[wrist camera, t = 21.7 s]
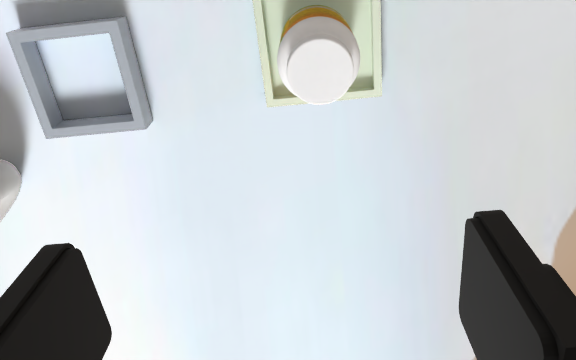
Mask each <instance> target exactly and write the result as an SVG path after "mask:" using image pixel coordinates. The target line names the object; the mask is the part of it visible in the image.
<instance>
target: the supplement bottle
mask: <svg viewBox="0 0 576 360" xmlns="http://www.w3.org/2000/svg"><path fill="white" fill-rule="evenodd" d="M277 66H278V72H279V75H280V77H281V80H282V82H283V83H284V85H285V86H286V87H287V88H288V90H289V91H290V92H292V93H293V94H294V95H296V96H297V97H299V98H300V99H302V100H303V101H305V102H307V103H310V104H315V105H323V104H328V103H332V102H334V101H336V100H338V99H339V98H341V97H342V96H343V95H344V94H345V93H346V92H347V90H348V89H349V87H350V86H351V85H352V84H353V82H354V80H355V79H356V76H357V74H358V71H359V67H360V50H359V46H358V43H357V41H356V38H355V36H354V35H353V33H352V31H351V29H350V27H349V25H348V23H347V21H346V20H345V19H344V17H343V16H342V15H341V14H340V13H339V12H337V11H336V10H335V9H333V8H331V7H328V6H325V5H317V4H316V5H309V6H305V7H303V8H301V9H299V10H297V11H296V12H295V13H293V14H292V15H291V16H290V18H289V19H288V20H287V22H286V23H285V25H284V28H283V30H282V34H281V39H280V44H279V49H278V55H277Z"/></svg>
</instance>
